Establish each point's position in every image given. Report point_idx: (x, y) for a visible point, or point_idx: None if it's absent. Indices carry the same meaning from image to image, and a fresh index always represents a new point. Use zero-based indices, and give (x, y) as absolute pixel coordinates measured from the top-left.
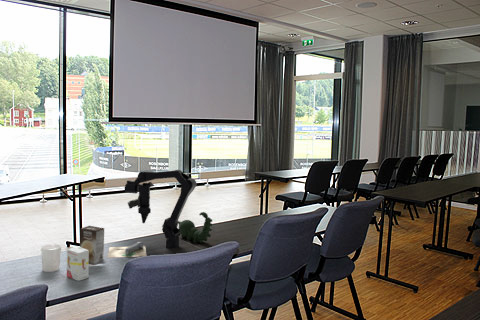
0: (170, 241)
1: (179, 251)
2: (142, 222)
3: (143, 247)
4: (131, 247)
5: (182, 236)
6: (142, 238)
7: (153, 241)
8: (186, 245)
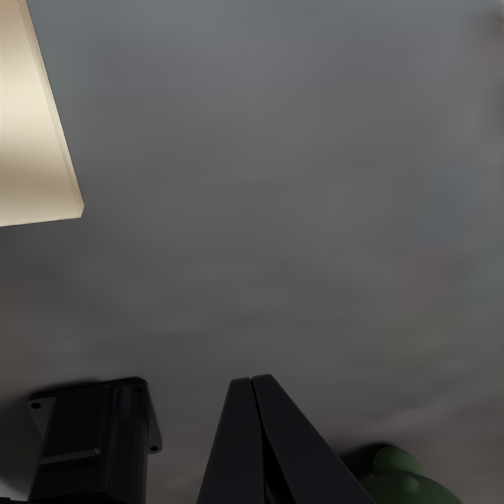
0: (30, 488)
1: (22, 464)
2: (228, 394)
3: (13, 202)
4: None
5: (379, 464)
6: (494, 145)
7: (346, 264)
8: (198, 479)
